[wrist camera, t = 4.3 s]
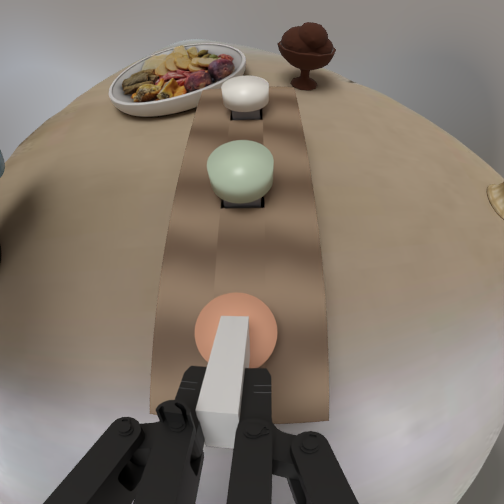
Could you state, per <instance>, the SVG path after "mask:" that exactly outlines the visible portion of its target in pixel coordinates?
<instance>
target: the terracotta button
mask: <svg viewBox="0 0 504 504" xmlns="http://www.w3.org/2000/svg"><path fill="white" fill-rule="evenodd" d="M221 316H249V337H250V362H249V368H259V367H260V366H262V365H263V364H264V363H265V362H266V361H267V360H268V359H269V357H270V356H271V354H272V352H273V350H274V347H275V344H276V341H277V324H276V320H275V318H274V315H273V314H272V312H271V310H270V309H269V307H268V306H267V305H266V304H265V303H264V302H262V301H261V300H260V299H258V298H256V297H254V296H252V295H249V294H246V293H238V292H235V293H227V294H223V295H220V296H218V297H216V298H214V299H213V300H211V301H210V302H209V303H208V304H207V305H206V306H205V307H204V308H203V309H202V311H201V312H200V314H199V316H198V318H197V321H196V324H195V342H196V345H197V348H198V350H199V352H200V354H201V355H202V357H203V358H204V359H205V360H206V361H207V362H208V361H209V358H210V354H211V350H212V347H213V343H214V339H215V336H216V332H217V329H218V325H219V321H220V318H221Z"/></svg>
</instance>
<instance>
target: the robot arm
mask: <svg viewBox="0 0 504 504" xmlns="http://www.w3.org/2000/svg"><path fill="white" fill-rule="evenodd" d="M4 169H5V163H4V159H3V156H2V153H1V150H0V177H1V176H2V175H3V173H4ZM0 261H1V246H0ZM249 362H250V337H249V316H221V318H220V321H219V325H218V329H217V332H216V336H215V339H214V343H213V347H212V350H211V354H210V358H209V361H208V365H207V367H203V366H190V367H189V368H188V369H187V370H186V371H185V372H184V374H183V377H182V380H181V383H180V386H179V389H178V391H177V394H176V397H175V400H168V401H164V402H162V403H161V404H159V405H158V407H157V408H156V409H155V410H156V413H157V415H158V417H159V420H160V421H159V422H155V423H145V424H139V422H138V421H137V420H135V419H134V418H131V417H122V418H119V419H117V420H115V421H114V422H113V423H112V424H111V425H110V426H109V428H108V429H107V430H106V431H105V432H104V433H103V435H102V436H101V437H100V438H99V439H98V441H97V442H96V443H95V444H94V445H93V446H92V448H91V449H90V450H89V451H88V452H87V453H86V454H85V456H84V457H83V458H82V459H81V460H80V461H79V463H78V464H77V465H76V466H75V467H74V468H73V470H72V471H71V472H70V473H69V474H68V475H67V477H66V478H65V479H64V480H63V481H62V482H61V484H60V485H59V486H58V487H57V488H56V489H55V490H54V492H53V493H52V494H51V495H50V496H49V497H48V499H47V500H46V501H45V502H44V503H43V504H131V503H132V502H133V500H134V499H135V500H134V503H133V504H195V502H196V497H197V491H198V486H199V481H200V476H201V470H202V465H203V460H204V452H203V446H204V441H205V445H206V446H209V447H220V448H230V449H233V457H232V465H231V473H230V481H229V489H228V497H227V504H271V496H272V474H273V475H277V476H281V477H285V478H287V480H288V483H289V486H290V489H291V492H292V495H293V498H294V501H295V503H296V504H359V503H358V501H357V499H356V497H355V495H354V493H353V491H352V489H351V487H350V485H349V483H348V481H347V479H346V477H345V475H344V473H343V471H342V469H341V467H340V465H339V463H338V461H337V459H336V457H335V455H334V453H333V451H332V449H331V447H330V445H329V443H328V441H327V439H326V438H325V437H324V436H323V435H321V434H320V433H317V432H312V431H309V432H303V433H301V434H298V435H297V436H296V435H292V434H288V433H284V432H282V431H280V430H278V429H277V428H276V427H275V426H274V424H273V422H272V393H271V392H272V390H271V375H270V373H269V371H268V370H267V368H249Z"/></svg>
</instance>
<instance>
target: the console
mask: <svg viewBox="0 0 504 504" xmlns="http://www.w3.org/2000/svg"><path fill="white" fill-rule="evenodd" d="M236 140H249V141H254V142H257V143H260V144H262V145H263V146H265V147H266V148H267V149H268V150H269V151H270V152H271V154H272V156H273V160H274V164H273V183H272V186H271V188H270V190H269V191H268V192H267V193H266V194H265V195H264V208H224V202H223V199H221V198H220V197H218V196H217V195H216V194H215V193H214V191H213V189H212V186H211V183H210V179H209V174H208V170H207V161H208V158H209V156H210V154H211V153H212V152H213V151H214V150H215V149H216V148H218V147H219V146H221V145H223V144H225V143H228V142H231V141H236ZM235 292H238V293H246V294H249V295H252V296H254V297H256V298H258V299H260V300H261V301H262V302H264V303H265V304H266V305H267V306H268V307H269V309H270V310H271V312H272V314H273V315H274V318H275V320H276V324H277V341H276V344H275V347H274V350H273V352H272V354H271V356H270V357H269V359H268V360H267V361H266V362H265V363H264V364H263V365H262V366H260V367H259V368H267V370H268V371H269V373H270V375H271V390H272V392H271V393H272V422H273V424H288V423H306V422H319V421H329V364H328V337H327V318H326V303H325V289H324V277H323V266H322V256H321V247H320V238H319V229H318V221H317V213H316V206H315V199H314V192H313V185H312V178H311V172H310V166H309V160H308V154H307V148H306V143H305V137H304V132H303V127H302V122H301V117H300V112H299V107H298V102H297V98H296V93H295V89H294V87H269V102H268V104H267V105H266V106H265V107H263V108H261V109H260V120H233V117H232V110H230V109H228V108H226V107H225V106H224V104H223V97H222V89H221V88H219V89H207V90H202V93H201V96H200V99H199V103H198V106H197V109H196V113H195V116H194V120H193V123H192V127H191V131H190V134H189V138H188V142H187V146H186V149H185V153H184V157H183V161H182V166H181V170H180V174H179V178H178V183H177V187H176V192H175V197H174V202H173V206H172V211H171V217H170V222H169V227H168V233H167V238H166V244H165V250H164V256H163V263H162V270H161V277H160V284H159V291H158V300H157V308H156V317H155V327H154V338H153V351H152V366H151V385H150V414H154V415H157V413H156V410H155V409H156V408H157V407H158V405H159V404H161V403H162V402H164V401H168V400H175V397H176V394H177V391H178V389H179V386H180V383H181V380H182V377H183V374H184V372H185V371H186V370H187V369H188V368H189V367H190V366H203V367H207V365H208V362H207V361H206V360H205V359H204V358H203V357H202V355H201V354H200V352H199V350H198V348H197V345H196V342H195V324H196V321H197V318H198V316H199V314H200V312H201V311H202V309H203V308H204V307H205V306H206V305H207V304H208V303H209V302H210V301H211V300H213V299H214V298H216V297H218V296H220V295H223V294H227V293H235Z"/></svg>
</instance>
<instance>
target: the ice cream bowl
mask: <svg viewBox="0 0 504 504" xmlns="http://www.w3.org/2000/svg"><path fill="white" fill-rule="evenodd" d="M278 47H279V51H280V53H281V55H282V56H283V57H284V58H285V59H286V60H287V61H288V62H289V63H290V64H291V65H293V66H294V67H296V68H299V69H300V70H301V75H300V77H296V78H293V80H292V81H291V84H292V86H293V87H295V88H298V89H300V90H313V89H316V87H317V83H316V82H315V81H314V80H313V79H311V78H309V71H310V70H315V69H319V68H322V67H324V66H326V65H328V63H329V62H330V61H331V59H332V58H333V56H334V53H335V51H336V49H335V48H334V47H333V44H332V42H331V41H330V40H329V39H328V34H327V32H326V30H325V29H324V28H323V27H322V25H320V24H317V23H309V22H307V23H304V24H303V25H302V26H297V27H292V28H291V29H289V30H288V31H287V32H285V33H284V35H283V36H282V40H281V41H280V42H279V43H278Z"/></svg>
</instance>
